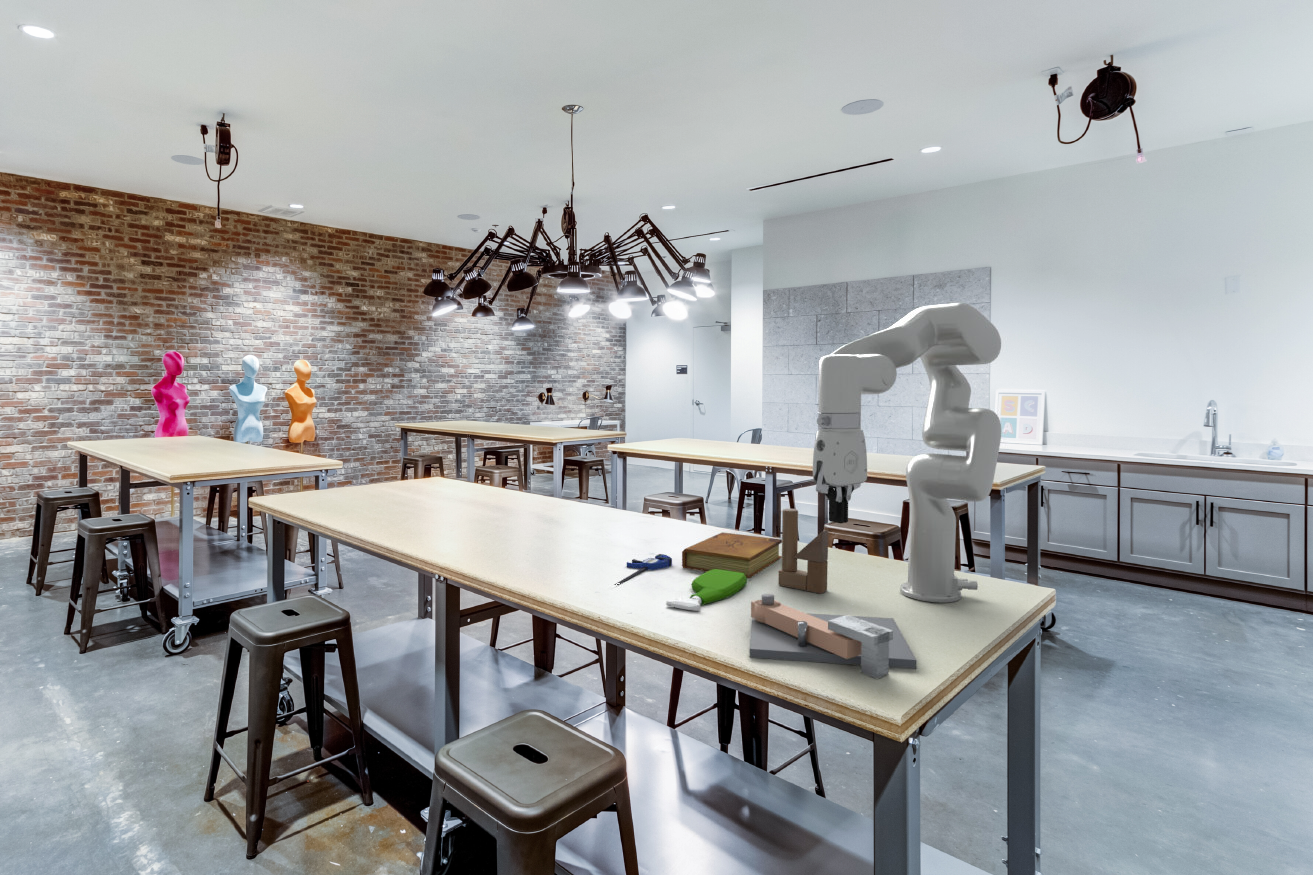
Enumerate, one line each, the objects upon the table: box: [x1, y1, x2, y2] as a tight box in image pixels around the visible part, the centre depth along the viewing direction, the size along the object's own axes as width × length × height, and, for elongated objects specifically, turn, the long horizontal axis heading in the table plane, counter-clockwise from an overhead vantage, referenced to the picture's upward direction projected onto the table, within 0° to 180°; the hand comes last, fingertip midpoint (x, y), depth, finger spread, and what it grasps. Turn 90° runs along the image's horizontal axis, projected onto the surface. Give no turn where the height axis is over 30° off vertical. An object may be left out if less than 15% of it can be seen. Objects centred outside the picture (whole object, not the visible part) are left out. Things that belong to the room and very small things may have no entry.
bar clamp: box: [614, 553, 673, 586], centre depth 160 cm, size 32×2×10 cm
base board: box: [749, 612, 918, 670], centre depth 118 cm, size 27×20×2 cm
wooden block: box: [777, 508, 829, 595], centre depth 149 cm, size 4×11×18 cm, turn 52°
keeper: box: [798, 614, 893, 680], centre depth 108 cm, size 14×7×7 cm, turn 35°
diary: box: [681, 531, 782, 579], centre depth 172 cm, size 23×19×6 cm
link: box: [750, 593, 862, 659], centre depth 115 cm, size 24×5×4 cm, turn 33°
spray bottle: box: [665, 569, 748, 612], centre depth 145 cm, size 3×11×24 cm
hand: (838, 521), depth 119 cm, fingers closed
